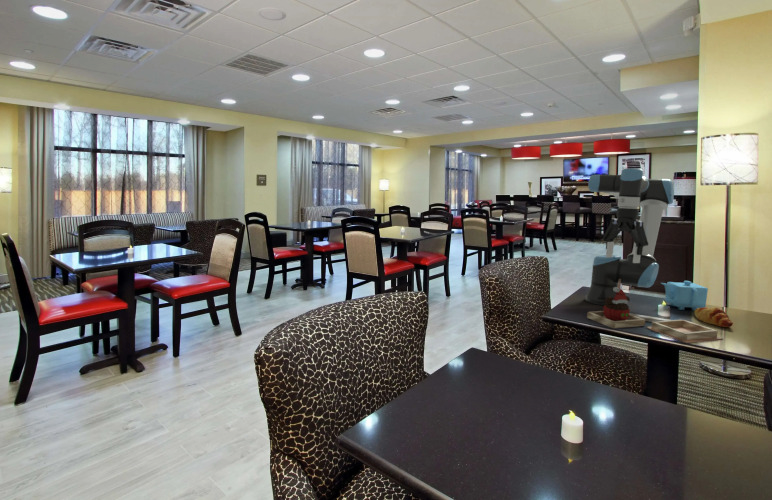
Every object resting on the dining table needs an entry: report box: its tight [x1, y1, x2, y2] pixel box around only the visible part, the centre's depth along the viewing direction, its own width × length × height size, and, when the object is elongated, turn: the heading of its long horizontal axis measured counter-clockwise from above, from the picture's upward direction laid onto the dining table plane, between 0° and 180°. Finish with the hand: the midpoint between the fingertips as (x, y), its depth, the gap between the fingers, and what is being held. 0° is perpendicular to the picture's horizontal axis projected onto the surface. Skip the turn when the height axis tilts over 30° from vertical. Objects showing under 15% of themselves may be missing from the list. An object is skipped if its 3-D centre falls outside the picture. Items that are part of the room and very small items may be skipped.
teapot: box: [660, 280, 709, 311], centre depth 202 cm, size 18×16×13 cm
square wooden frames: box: [586, 310, 724, 344], centre depth 171 cm, size 34×32×3 cm
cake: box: [602, 279, 631, 321], centre depth 177 cm, size 11×9×18 cm
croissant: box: [693, 306, 734, 328], centre depth 181 cm, size 21×10×8 cm, turn 178°
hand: (622, 260), depth 174 cm, fingers open, 13 cm apart
